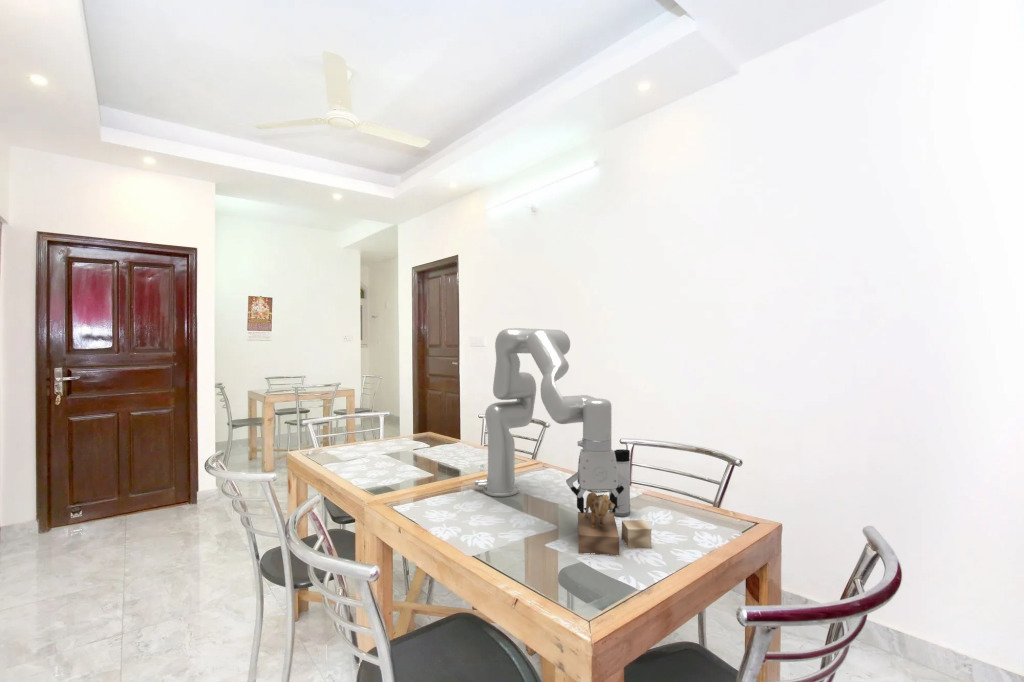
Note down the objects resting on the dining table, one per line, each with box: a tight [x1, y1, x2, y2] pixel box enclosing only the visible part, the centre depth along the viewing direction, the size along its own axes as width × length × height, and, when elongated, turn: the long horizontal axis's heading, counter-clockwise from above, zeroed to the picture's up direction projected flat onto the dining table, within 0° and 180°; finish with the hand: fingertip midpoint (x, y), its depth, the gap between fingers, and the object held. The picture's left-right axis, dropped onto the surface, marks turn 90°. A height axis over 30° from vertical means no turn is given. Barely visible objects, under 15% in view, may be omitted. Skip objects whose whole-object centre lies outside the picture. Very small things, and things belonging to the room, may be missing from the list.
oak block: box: [621, 519, 652, 549], centre depth 120 cm, size 6×6×5 cm
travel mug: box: [608, 449, 631, 518], centre depth 141 cm, size 6×7×20 cm
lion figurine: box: [584, 491, 615, 528], centre depth 123 cm, size 15×5×9 cm, turn 14°
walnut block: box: [577, 511, 620, 556], centre depth 122 cm, size 10×16×5 cm, turn 173°
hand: (596, 510), depth 122 cm, fingers open, 8 cm apart
